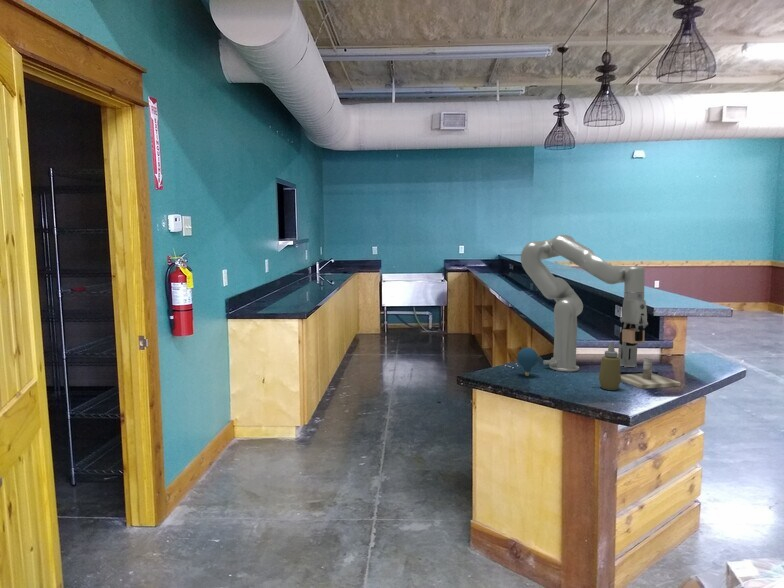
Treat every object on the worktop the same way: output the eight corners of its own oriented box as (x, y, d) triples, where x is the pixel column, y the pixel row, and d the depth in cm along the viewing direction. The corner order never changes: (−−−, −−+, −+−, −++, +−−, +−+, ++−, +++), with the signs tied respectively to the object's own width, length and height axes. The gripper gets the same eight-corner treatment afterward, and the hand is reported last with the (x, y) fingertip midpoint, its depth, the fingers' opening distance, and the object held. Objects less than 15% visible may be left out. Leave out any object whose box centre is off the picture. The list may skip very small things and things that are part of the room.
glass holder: (639, 365, 252) (641, 332, 250) (632, 371, 240) (634, 337, 239) (619, 362, 257) (620, 330, 255) (611, 368, 245) (613, 335, 244)
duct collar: (632, 343, 223) (632, 331, 222) (622, 341, 229) (622, 329, 228) (644, 342, 224) (644, 330, 224) (634, 340, 230) (634, 328, 230)
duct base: (641, 388, 211) (642, 364, 210) (614, 378, 226) (615, 355, 225) (680, 386, 215) (681, 362, 214) (651, 376, 231) (652, 354, 230)
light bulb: (539, 375, 230) (540, 346, 229) (535, 379, 223) (536, 350, 222) (519, 372, 234) (520, 345, 233) (514, 377, 226) (515, 348, 225)
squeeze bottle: (618, 392, 205) (621, 345, 203) (596, 389, 209) (598, 342, 208) (622, 387, 212) (624, 341, 210) (600, 384, 216) (602, 339, 215)
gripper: (657, 297, 218) (656, 342, 219) (627, 294, 234) (626, 336, 236) (641, 298, 216) (640, 343, 217) (612, 295, 232) (611, 337, 234)
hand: (633, 339), depth 226 cm, fingers closed on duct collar, 6 cm apart
